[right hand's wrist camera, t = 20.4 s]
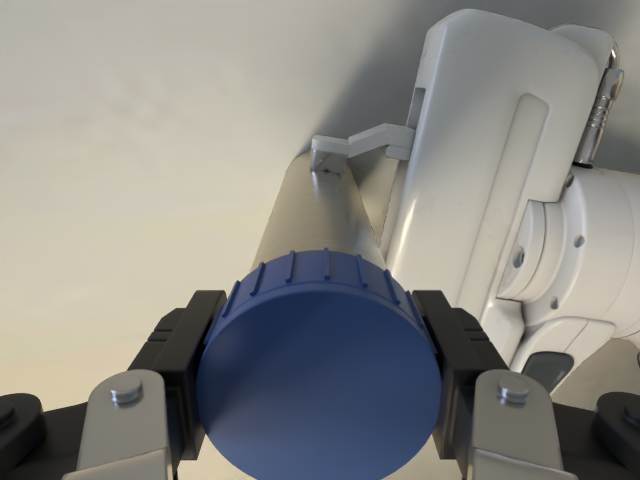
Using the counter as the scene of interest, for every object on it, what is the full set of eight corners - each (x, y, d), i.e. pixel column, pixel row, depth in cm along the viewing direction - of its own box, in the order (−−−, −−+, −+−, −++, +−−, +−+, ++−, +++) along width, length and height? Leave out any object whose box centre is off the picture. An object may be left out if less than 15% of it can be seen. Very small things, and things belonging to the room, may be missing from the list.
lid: (466, 317, 11) (501, 372, 9) (345, 454, 12) (350, 528, 10) (286, 203, 10) (278, 235, 8) (178, 367, 11) (147, 430, 9)
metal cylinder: (270, 184, 28) (175, 379, 10) (319, 134, 27) (318, 246, 9) (318, 230, 29) (318, 486, 11) (367, 184, 28) (461, 379, 10)
